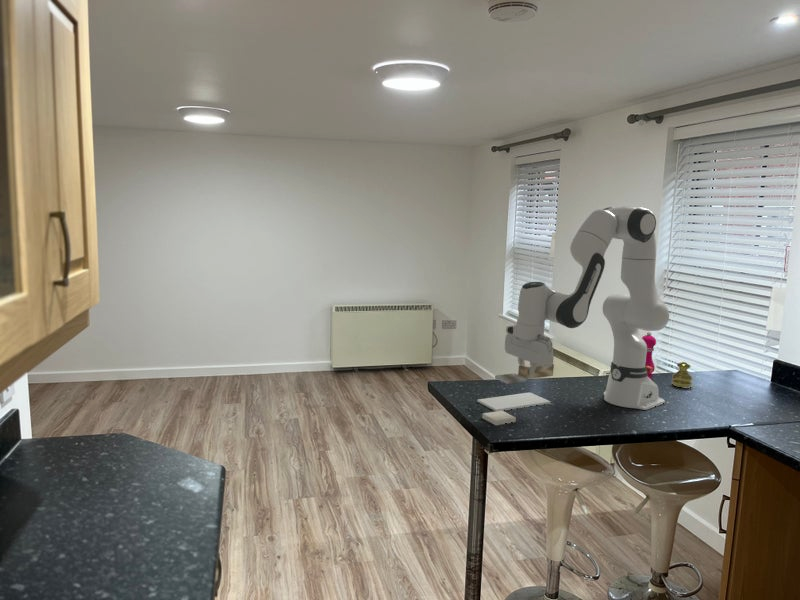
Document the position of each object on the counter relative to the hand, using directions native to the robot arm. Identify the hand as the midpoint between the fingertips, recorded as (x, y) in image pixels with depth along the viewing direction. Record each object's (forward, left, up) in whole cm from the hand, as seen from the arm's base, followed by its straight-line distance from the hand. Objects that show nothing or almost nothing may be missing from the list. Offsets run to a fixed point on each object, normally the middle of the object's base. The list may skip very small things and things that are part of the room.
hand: (526, 373), depth 193 cm
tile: (+6, 0, -14) cm, 15 cm away
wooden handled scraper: (0, 0, -2) cm, 2 cm away
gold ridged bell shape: (-86, -4, -15) cm, 87 cm away
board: (-6, -12, -15) cm, 20 cm away
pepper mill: (-81, -18, -15) cm, 84 cm away
